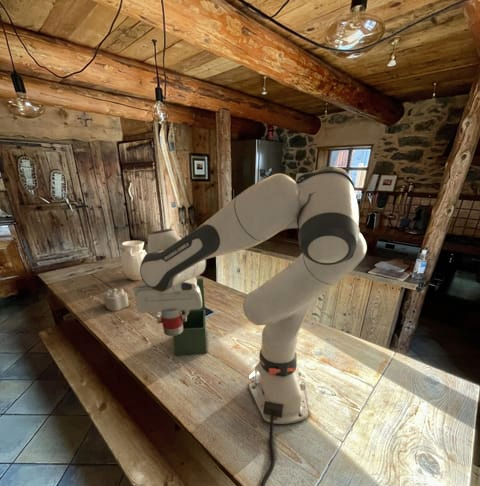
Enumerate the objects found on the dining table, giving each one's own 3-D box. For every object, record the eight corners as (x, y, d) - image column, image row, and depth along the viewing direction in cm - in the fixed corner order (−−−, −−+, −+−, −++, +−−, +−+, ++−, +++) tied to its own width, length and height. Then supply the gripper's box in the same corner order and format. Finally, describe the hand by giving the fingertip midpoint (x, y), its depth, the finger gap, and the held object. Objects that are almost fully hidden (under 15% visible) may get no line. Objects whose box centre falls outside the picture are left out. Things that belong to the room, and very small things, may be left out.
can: (182, 335, 86) (180, 310, 82) (162, 336, 85) (158, 312, 82) (184, 324, 92) (181, 301, 88) (165, 326, 91) (161, 302, 88)
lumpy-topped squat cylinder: (113, 312, 140) (109, 297, 137) (101, 304, 148) (98, 290, 144) (131, 305, 148) (128, 291, 144) (119, 298, 155) (117, 284, 152)
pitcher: (147, 283, 177) (141, 246, 167) (119, 282, 177) (112, 246, 167) (155, 273, 194) (151, 239, 184) (130, 273, 194) (124, 239, 184)
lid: (203, 279, 108) (202, 272, 111) (171, 281, 106) (172, 274, 110) (204, 309, 118) (204, 302, 122) (176, 311, 117) (176, 303, 120)
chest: (206, 352, 109) (205, 328, 104) (175, 355, 108) (172, 330, 103) (206, 332, 123) (204, 309, 118) (178, 333, 122) (176, 311, 117)
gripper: (129, 288, 77) (137, 328, 83) (200, 284, 80) (203, 324, 85) (135, 280, 83) (141, 318, 89) (200, 277, 85) (203, 314, 91)
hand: (172, 321), depth 87 cm, fingers closed on can, 6 cm apart
